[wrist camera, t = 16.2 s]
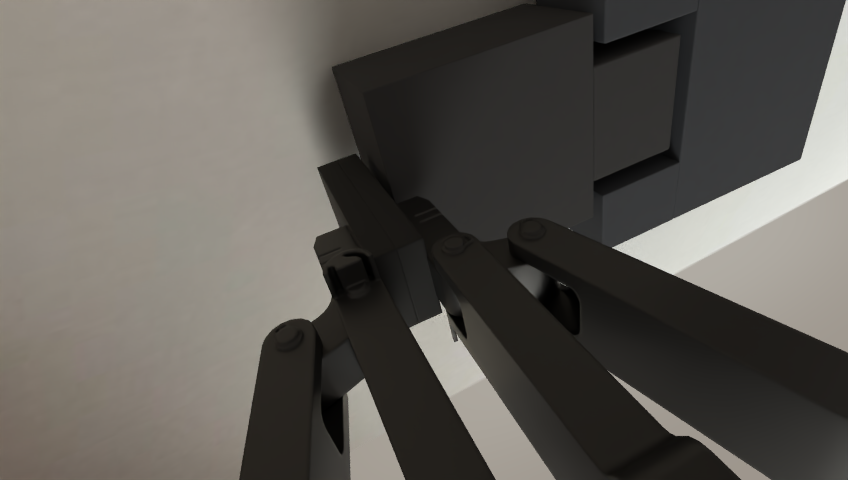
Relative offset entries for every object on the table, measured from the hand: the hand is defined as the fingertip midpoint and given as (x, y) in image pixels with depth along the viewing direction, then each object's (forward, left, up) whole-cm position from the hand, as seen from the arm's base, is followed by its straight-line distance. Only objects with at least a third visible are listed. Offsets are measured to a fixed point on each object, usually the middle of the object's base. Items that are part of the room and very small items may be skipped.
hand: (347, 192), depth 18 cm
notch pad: (+16, 0, -1) cm, 16 cm away
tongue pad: (+7, 0, -1) cm, 7 cm away
